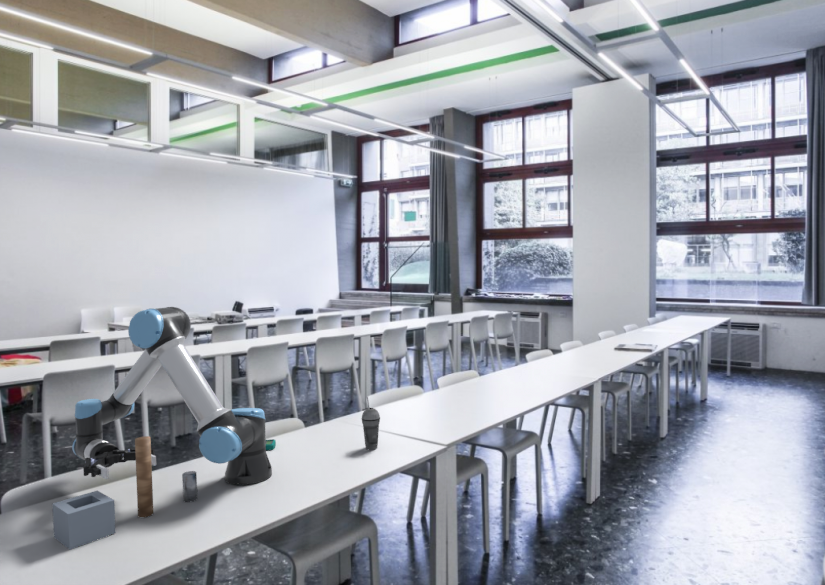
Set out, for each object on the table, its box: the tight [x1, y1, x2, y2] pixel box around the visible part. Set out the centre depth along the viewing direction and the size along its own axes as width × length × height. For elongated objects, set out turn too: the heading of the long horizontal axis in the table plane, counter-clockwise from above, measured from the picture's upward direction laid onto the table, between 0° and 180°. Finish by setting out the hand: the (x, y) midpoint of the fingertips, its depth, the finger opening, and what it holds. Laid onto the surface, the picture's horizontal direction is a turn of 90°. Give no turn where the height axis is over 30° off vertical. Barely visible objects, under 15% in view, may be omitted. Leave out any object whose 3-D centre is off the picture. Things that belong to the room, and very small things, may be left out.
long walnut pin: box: [134, 435, 154, 518], centre depth 160 cm, size 4×4×22 cm
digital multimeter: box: [266, 439, 277, 451], centre depth 220 cm, size 7×15×3 cm, turn 96°
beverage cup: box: [361, 396, 381, 451], centre depth 217 cm, size 7×7×20 cm
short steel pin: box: [181, 470, 198, 503], centre depth 171 cm, size 4×4×8 cm
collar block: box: [51, 490, 117, 550], centre depth 148 cm, size 11×11×9 cm
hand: (131, 467), depth 164 cm, fingers open, 13 cm apart
